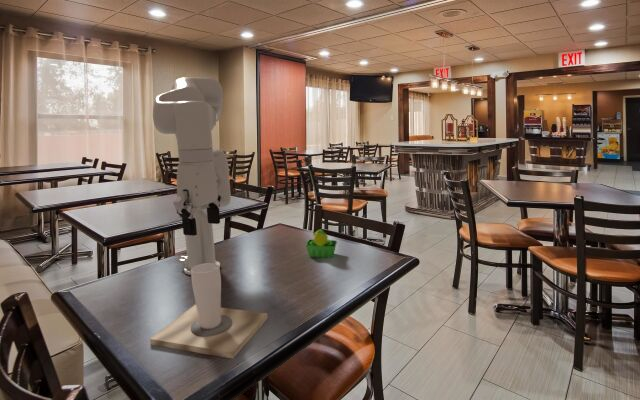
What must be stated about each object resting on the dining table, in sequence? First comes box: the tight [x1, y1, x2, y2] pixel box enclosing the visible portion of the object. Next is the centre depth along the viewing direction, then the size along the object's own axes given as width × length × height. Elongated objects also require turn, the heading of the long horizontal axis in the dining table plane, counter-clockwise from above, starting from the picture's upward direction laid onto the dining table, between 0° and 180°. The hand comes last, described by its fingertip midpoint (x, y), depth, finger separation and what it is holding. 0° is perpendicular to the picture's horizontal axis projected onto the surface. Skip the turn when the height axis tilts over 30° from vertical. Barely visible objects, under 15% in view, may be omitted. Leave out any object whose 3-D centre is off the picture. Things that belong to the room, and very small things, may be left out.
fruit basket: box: [305, 229, 338, 259], centre depth 146 cm, size 11×9×11 cm
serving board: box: [149, 303, 268, 359], centre depth 95 cm, size 22×18×2 cm
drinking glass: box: [190, 263, 222, 329], centre depth 93 cm, size 7×7×15 cm
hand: (202, 228), depth 90 cm, fingers open, 9 cm apart
